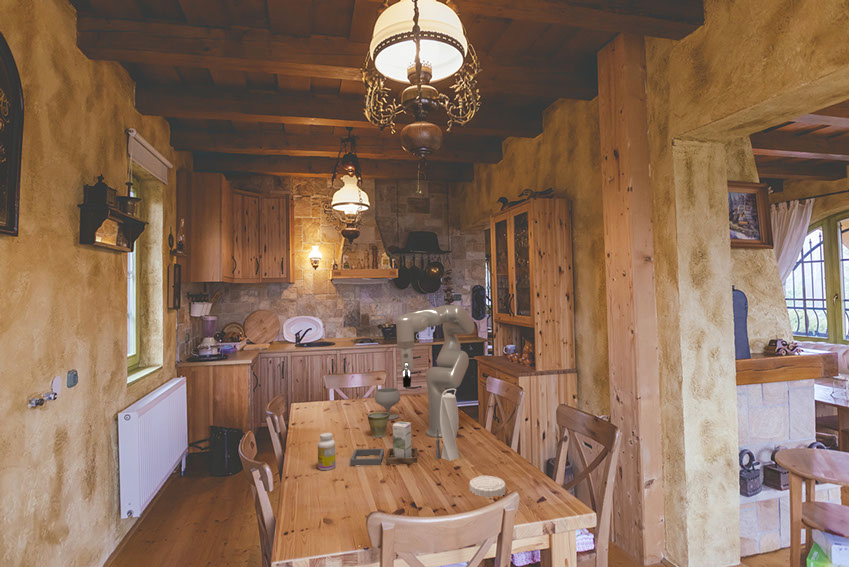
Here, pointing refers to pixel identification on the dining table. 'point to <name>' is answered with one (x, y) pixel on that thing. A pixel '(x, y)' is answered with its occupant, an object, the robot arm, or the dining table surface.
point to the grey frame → (367, 460)
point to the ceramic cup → (378, 423)
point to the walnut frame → (401, 460)
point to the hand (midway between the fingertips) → (407, 384)
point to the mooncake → (487, 486)
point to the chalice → (388, 399)
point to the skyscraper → (448, 427)
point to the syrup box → (402, 440)
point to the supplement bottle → (326, 452)
